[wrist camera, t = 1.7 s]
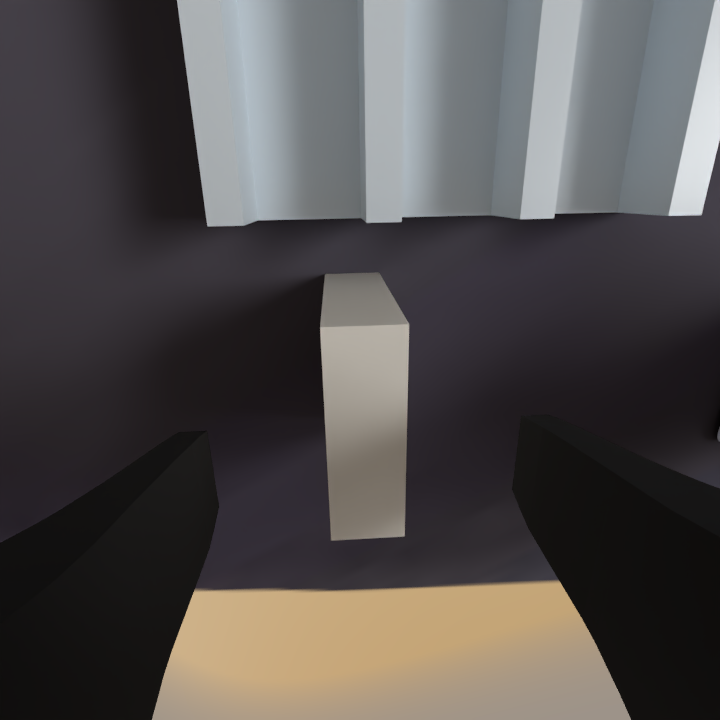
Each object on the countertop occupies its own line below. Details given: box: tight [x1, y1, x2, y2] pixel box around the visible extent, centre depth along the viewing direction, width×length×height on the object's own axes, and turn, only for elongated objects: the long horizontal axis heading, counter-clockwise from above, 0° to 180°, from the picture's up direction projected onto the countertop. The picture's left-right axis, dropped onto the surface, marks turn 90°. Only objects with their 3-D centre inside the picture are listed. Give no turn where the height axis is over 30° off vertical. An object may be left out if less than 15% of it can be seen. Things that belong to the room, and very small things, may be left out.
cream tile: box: [320, 273, 409, 541], centre depth 14 cm, size 2×6×7 cm, turn 1°
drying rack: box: [177, 0, 720, 227], centre depth 12 cm, size 14×11×4 cm
